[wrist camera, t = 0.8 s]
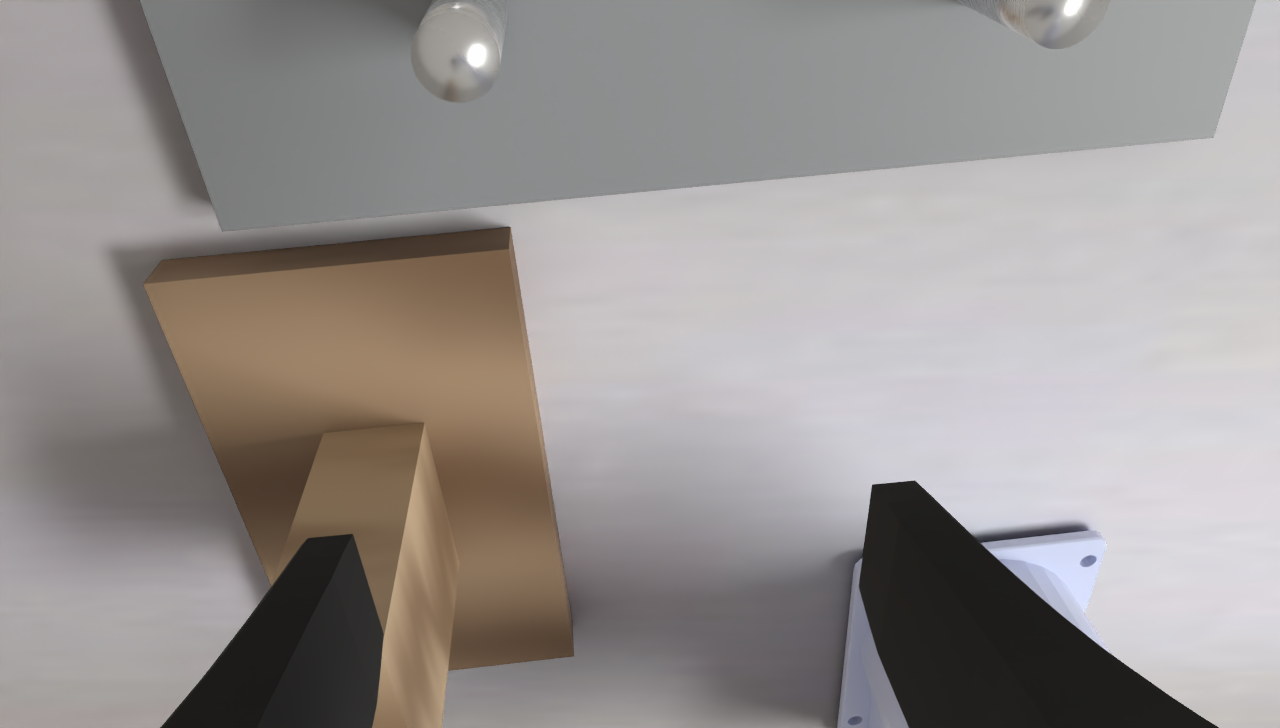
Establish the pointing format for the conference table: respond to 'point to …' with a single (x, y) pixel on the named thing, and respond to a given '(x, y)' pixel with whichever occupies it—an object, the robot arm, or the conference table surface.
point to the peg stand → (660, 92)
